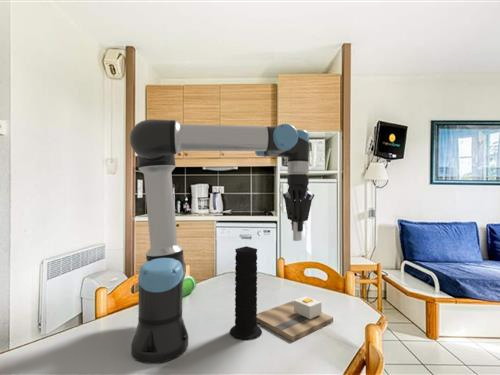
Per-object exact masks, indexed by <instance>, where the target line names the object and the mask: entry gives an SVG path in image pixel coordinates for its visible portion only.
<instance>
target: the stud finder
mask: <svg viewBox="0 0 500 375" xmlns="http://www.w3.org/2000/svg"><path fill="white" fill-rule="evenodd" d="M293 301H294V312H295V313H298V314H300V315H302V316H304V317H307V318H309V319H311V318H314V317H316V316H318V315H321V312H322V301H319V300H316V299H314V298H311V297H308V296H306V295H305V296H302V297H299V298H296V299H294V300H293Z"/></svg>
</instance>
